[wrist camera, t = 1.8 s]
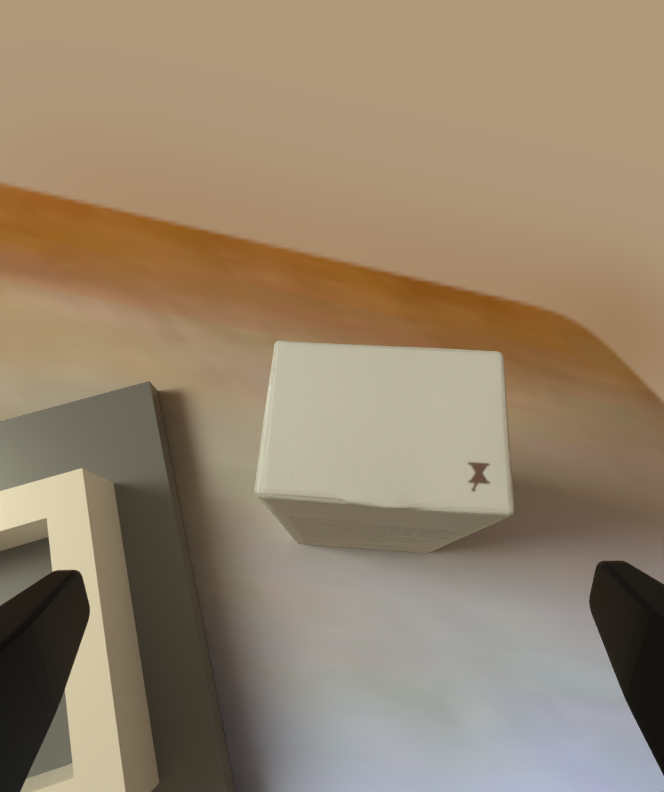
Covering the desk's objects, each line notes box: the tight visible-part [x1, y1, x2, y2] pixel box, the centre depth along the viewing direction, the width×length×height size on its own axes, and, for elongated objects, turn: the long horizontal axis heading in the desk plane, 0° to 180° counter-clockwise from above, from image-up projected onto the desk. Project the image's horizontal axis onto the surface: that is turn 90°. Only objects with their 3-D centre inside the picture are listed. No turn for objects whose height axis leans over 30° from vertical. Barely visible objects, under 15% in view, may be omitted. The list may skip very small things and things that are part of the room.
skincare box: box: [254, 340, 515, 553], centre depth 18 cm, size 6×4×12 cm
